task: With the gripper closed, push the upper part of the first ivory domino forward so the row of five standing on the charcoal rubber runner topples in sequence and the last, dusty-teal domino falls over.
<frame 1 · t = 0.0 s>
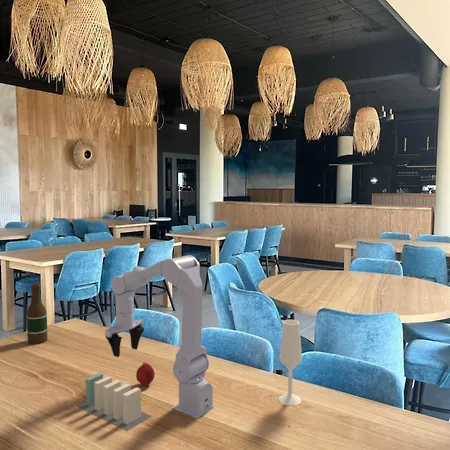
hand: (125, 352, 140), 10 cm above the table, fingers open, 7 cm apart
onion: (145, 386, 138), on the table
domino 5: (95, 402, 127), resting on runner mat
domino 3: (112, 410, 122), resting on runner mat
domino 1: (132, 419, 117), resting on runner mat
beer bottle: (37, 341, 179), on the table
domino 4: (103, 406, 124), resting on runner mat
champagne flute: (289, 400, 129), on the table
domino 2: (122, 415, 120), resting on runner mat
runner mat: (112, 412, 122), on the table
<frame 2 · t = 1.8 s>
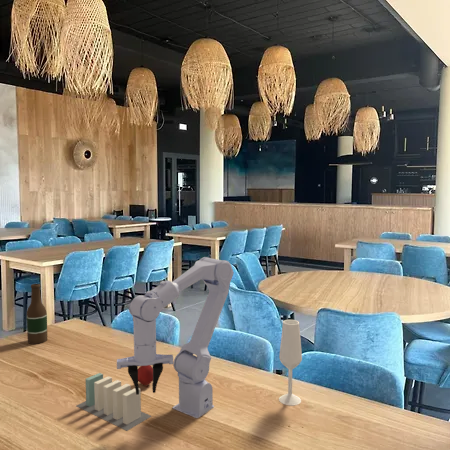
hand: (145, 391, 113), 10 cm above the table, fingers open, 4 cm apart
nothing on the table moved.
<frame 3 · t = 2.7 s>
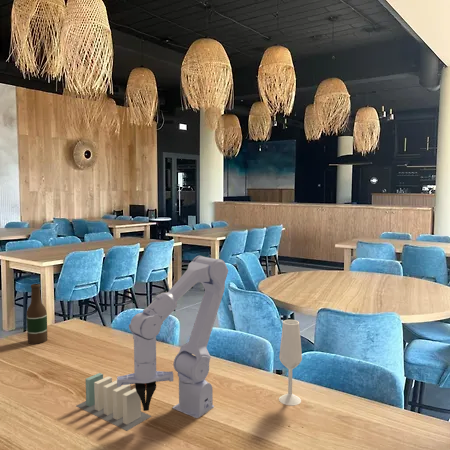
hand: (145, 408, 114), 5 cm above the table, fingers closed
nothing on the table moved.
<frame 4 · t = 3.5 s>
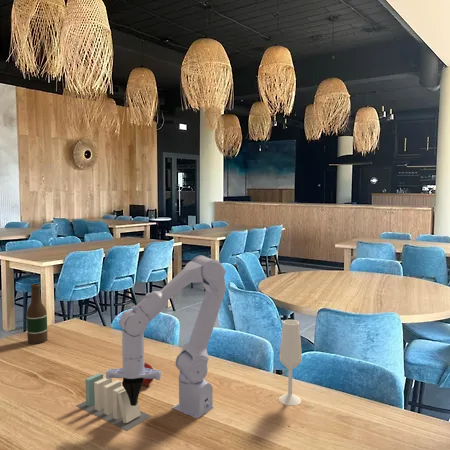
hand: (134, 403, 116), 5 cm above the table, fingers closed
domino 1: (132, 418, 117), point 1 cm above the table, tilted 16°, touching runner mat
everything else where it was.
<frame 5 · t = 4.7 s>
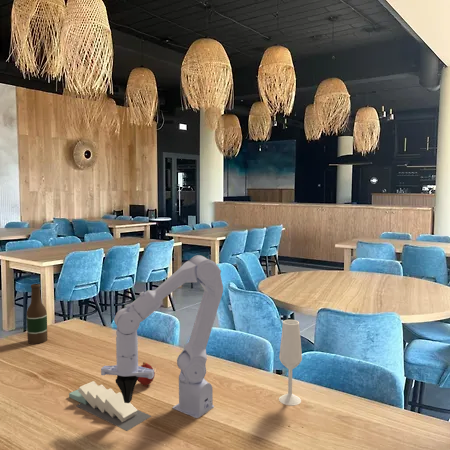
hand: (128, 401, 118), 5 cm above the table, fingers closed
domino 5: (92, 398, 127), point 1 cm above the table, tilted 94°, touching domino 4, runner mat
domino 3: (110, 407, 123), point 1 cm above the table, tilted 66°, touching domino 2, domino 4, runner mat
domino 1: (130, 416, 118), point 1 cm above the table, tilted 67°, touching domino 2, runner mat
domino 4: (101, 403, 125), point 1 cm above the table, tilted 67°, touching domino 3, domino 5, runner mat
domino 2: (120, 411, 120), point 1 cm above the table, tilted 66°, touching domino 1, domino 3
everything else where it was.
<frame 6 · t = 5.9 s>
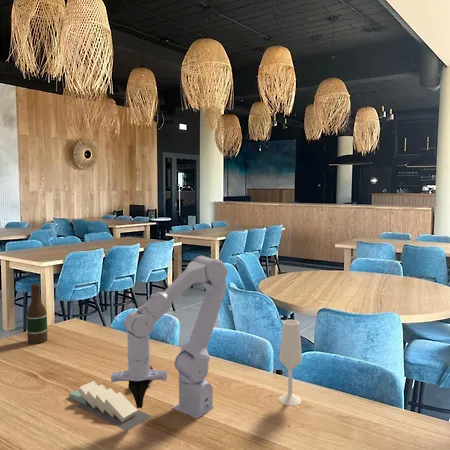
hand: (139, 406, 115), 5 cm above the table, fingers closed
nothing on the table moved.
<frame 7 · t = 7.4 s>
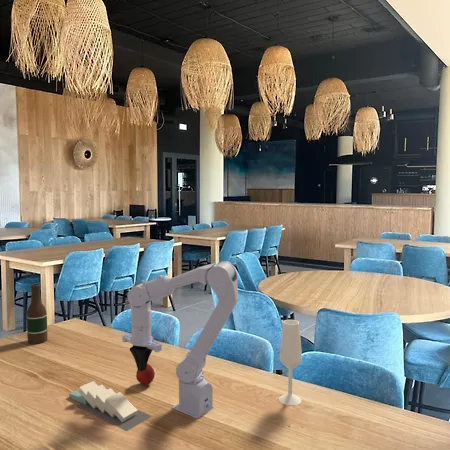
hand: (141, 369, 127), 10 cm above the table, fingers closed
nothing on the table moved.
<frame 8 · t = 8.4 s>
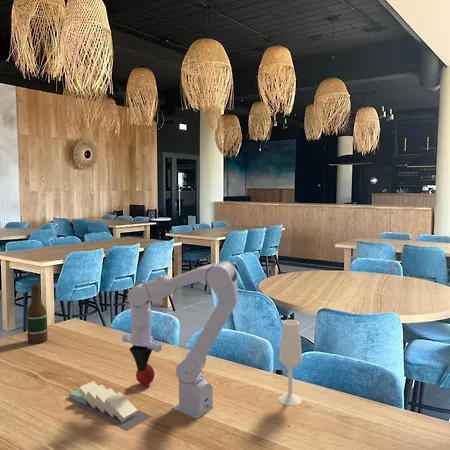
hand: (141, 369, 127), 10 cm above the table, fingers closed
nothing on the table moved.
at the end: domino 5 tilted 94°; domino 1 tilted 67° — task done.
